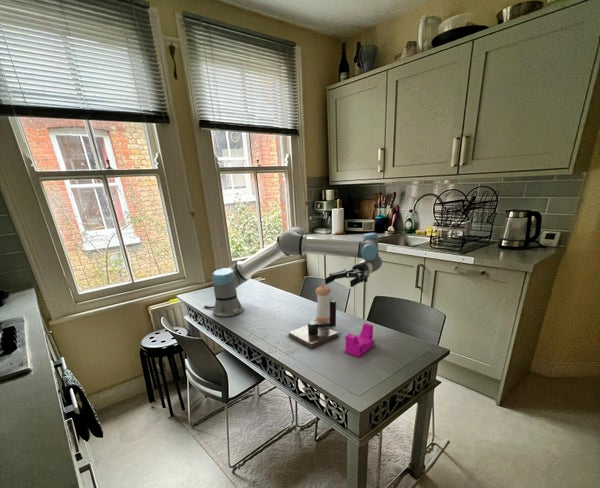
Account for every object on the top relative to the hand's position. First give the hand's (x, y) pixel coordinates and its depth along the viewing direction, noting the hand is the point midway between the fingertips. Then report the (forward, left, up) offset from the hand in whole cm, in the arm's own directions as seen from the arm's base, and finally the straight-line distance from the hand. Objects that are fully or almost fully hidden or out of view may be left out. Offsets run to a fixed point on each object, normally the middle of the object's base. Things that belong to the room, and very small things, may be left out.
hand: (338, 282), depth 141 cm
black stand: (0, -11, -21) cm, 23 cm away
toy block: (+20, -6, -23) cm, 31 cm away
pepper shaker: (-10, 0, -13) cm, 16 cm away
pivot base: (-2, -14, -23) cm, 27 cm away
